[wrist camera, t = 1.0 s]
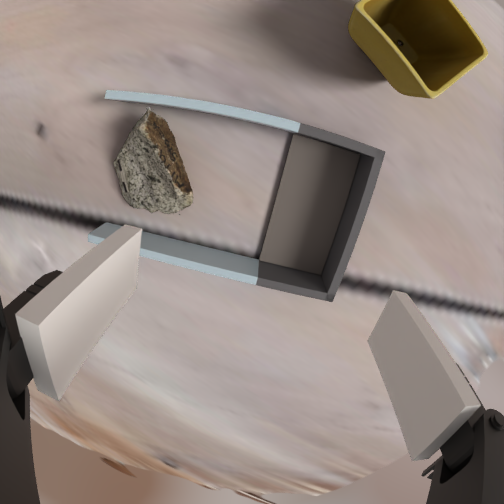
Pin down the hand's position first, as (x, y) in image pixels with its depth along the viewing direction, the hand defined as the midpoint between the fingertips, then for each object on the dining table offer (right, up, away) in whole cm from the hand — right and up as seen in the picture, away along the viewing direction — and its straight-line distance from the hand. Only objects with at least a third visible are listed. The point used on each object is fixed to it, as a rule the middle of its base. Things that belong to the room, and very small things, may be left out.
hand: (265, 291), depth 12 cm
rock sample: (-10, +9, +16) cm, 21 cm away
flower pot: (+13, +21, +10) cm, 27 cm away
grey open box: (+5, +6, +17) cm, 19 cm away
